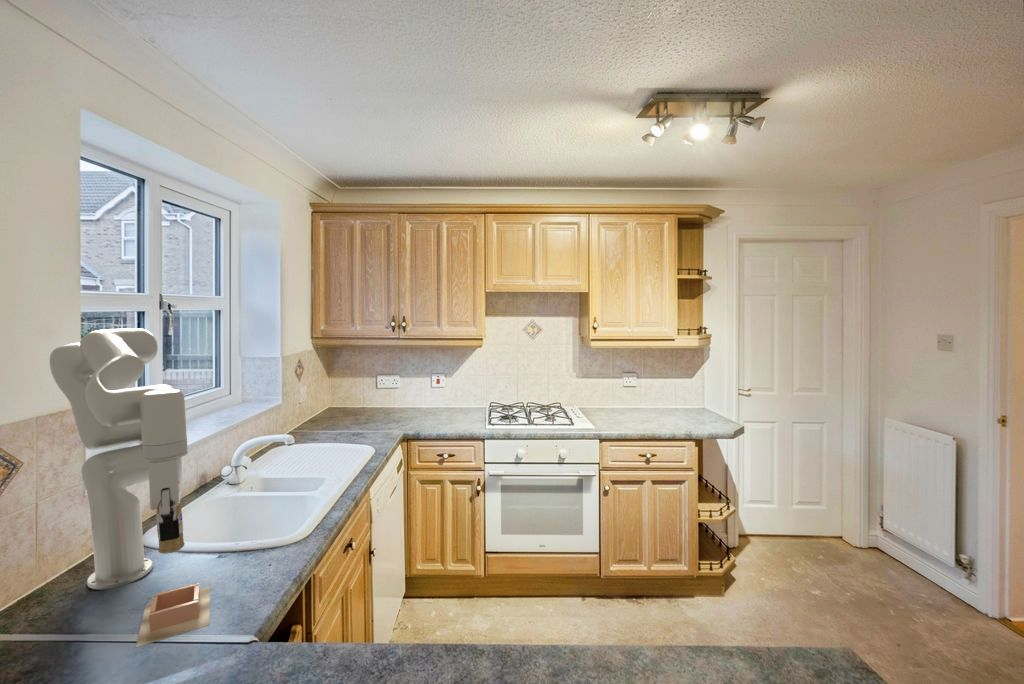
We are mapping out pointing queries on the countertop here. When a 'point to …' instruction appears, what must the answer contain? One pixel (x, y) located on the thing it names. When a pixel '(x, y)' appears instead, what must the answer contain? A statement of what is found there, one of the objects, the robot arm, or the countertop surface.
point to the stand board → (180, 628)
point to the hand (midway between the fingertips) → (171, 533)
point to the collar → (174, 607)
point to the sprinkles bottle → (172, 544)
